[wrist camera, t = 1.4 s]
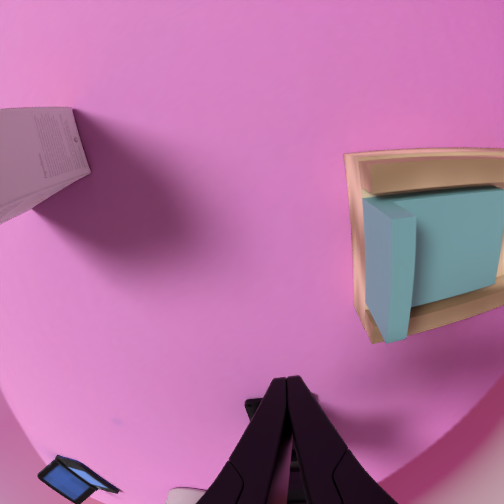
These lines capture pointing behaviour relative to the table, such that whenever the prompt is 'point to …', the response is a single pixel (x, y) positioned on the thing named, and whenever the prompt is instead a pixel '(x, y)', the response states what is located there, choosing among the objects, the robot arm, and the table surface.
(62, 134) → the small box
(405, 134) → the table surface
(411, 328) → the tan curved flanged bracket
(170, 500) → the cylinder vase
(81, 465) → the handheld game console
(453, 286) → the cover plate
